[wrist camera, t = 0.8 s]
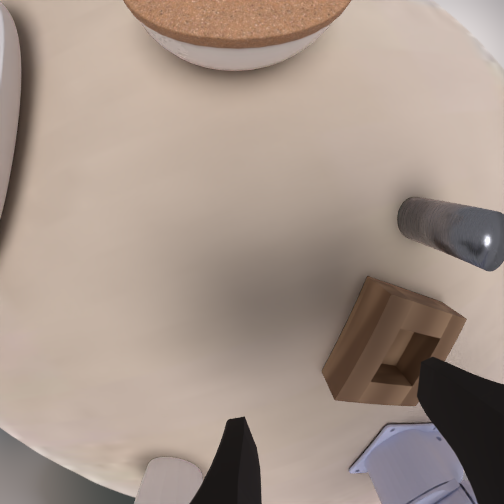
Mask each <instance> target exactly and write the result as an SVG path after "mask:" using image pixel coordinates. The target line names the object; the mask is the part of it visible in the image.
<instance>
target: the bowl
mask: <svg viewBox="0 0 504 504" xmlns="http://www.w3.org/2000/svg"><path fill="white" fill-rule="evenodd" d="M20 96H21V52H20V44H19V38H18V33H17V29H16V26H15V23H14V21H13V18H12V16H11V14H10V13H9V11H8V9H7V8H6V7H5V6H4V5H3V3H2V2H0V219H1V215H2V211H3V207H4V202H5V198H6V193H7V188H8V183H9V178H10V173H11V167H12V161H13V155H14V149H15V142H16V135H17V127H18V118H19V109H20Z"/></svg>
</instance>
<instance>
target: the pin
mask: <svg viewBox="0 0 504 504" xmlns="http://www.w3.org/2000/svg"><path fill="white" fill-rule="evenodd" d="M398 226H399V229H400V231H401V233H402V234H403V235H404V236H405V237H407V238H409V239H412V240H414V241H417V242H419V243H422V244H424V245H427V246H429V247H432V248H434V249H437V250H439V251H442V252H444V253H447V254H449V255H451V256H454V257H456V258H459V259H461V260H463V261H466V262H468V263H470V264H472V265H475V266H477V267H479V268H481V269H484V270H486V271H494V270H496V269H497V268H498V267H499V266H500V265H501V264H502V263H503V261H504V214H502V213H501V212H497V211H492V210H487V209H482V208H477V207H472V206H467V205H462V204H456V203H450V202H445V201H439V200H433V199H426V198H420V197H411V198H408V199H407V200H406V201H404V202H403V204H402V205H401V207H400V209H399V212H398Z"/></svg>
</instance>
